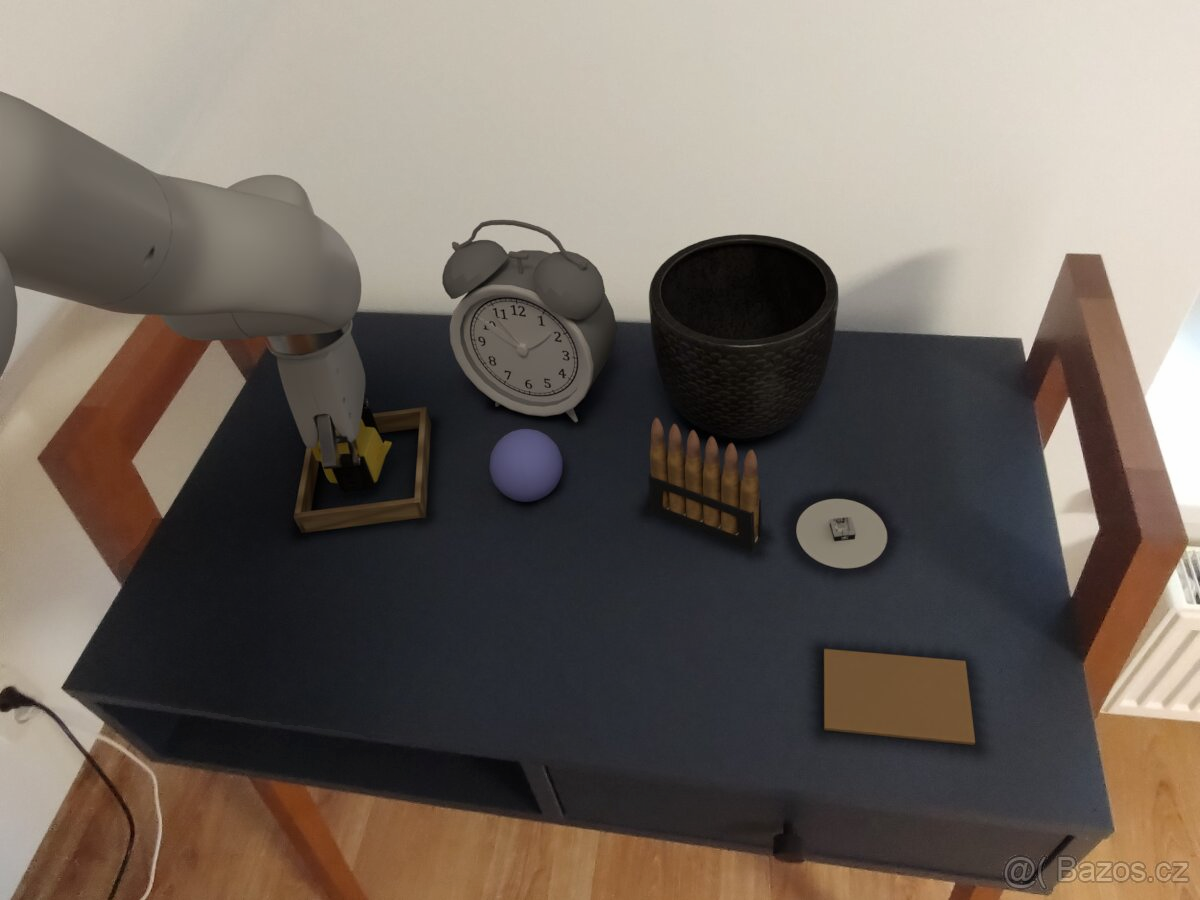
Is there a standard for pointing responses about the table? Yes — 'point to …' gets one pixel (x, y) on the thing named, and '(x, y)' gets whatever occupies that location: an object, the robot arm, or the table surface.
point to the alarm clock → (528, 323)
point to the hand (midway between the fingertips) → (361, 462)
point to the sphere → (525, 465)
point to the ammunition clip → (705, 488)
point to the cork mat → (897, 696)
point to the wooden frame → (372, 511)
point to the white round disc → (841, 533)
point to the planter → (743, 332)
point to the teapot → (361, 451)
